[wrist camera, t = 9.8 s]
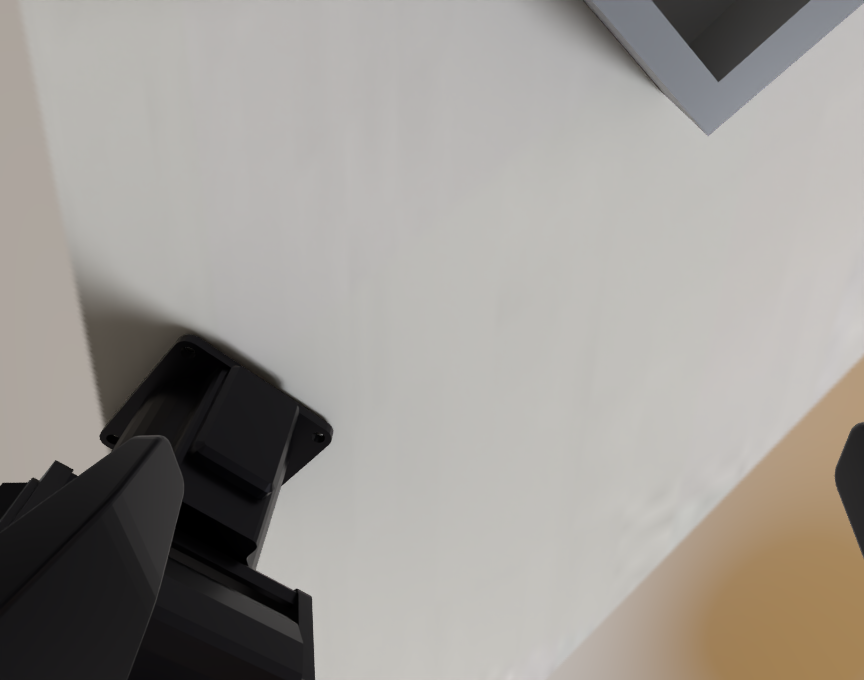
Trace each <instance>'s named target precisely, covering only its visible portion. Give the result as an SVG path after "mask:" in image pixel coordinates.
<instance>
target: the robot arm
mask: <svg viewBox="0 0 864 680" xmlns="http://www.w3.org/2000/svg"><path fill="white" fill-rule="evenodd" d="M185 347H189V348H192V349H193V350H194V351H195V352H190V351H188V350H187V349H186V348H185ZM315 433H321V434H323V435H317V434H315ZM114 435H115V436H114ZM116 436H117V437H116ZM332 436H333V428H332V426H331V425H330V424H329V423H327V422H326V421H324V420H323V419H321V418H320V417H318V416H317V415H315V414H314V413H312V412H311V411H309V410H308V409H306V408H305V407H303V406H302V405H300V404H299V403H297V402H296V401H294V400H293V399H291V398H290V397H288V396H287V395H285V394H284V393H282V392H281V391H279V390H278V389H276V388H275V387H273V386H272V385H270V384H269V383H267V382H266V381H264V380H263V379H261V378H260V377H258V376H257V375H255V374H254V373H252V372H250V371H249V370H247V369H246V368H244V367H243V366H241V365H240V364H238V363H237V362H235V361H234V360H232V359H231V358H229V357H228V356H226V355H225V354H223V353H222V352H220V351H219V350H217V349H216V348H214V347H213V346H211V345H210V344H208V343H207V342H205V341H204V340H202V339H201V338H199V337H197V336H195V335H190V334H188V335H183V336H182V337H180V338H179V339H178V340H177V342H176V343H175V344H174V345H173V346H172V347H171V349H170V350H169V351H168V352H167V353H166V355H165V356H164V357H163V358H162V359H161V361H160V362H159V363H158V364H157V365H156V366H155V368H154V369H153V370H152V371H151V372H150V374H149V375H148V376H147V377H146V378H145V379H144V381H143V382H142V383H141V384H140V385H139V387H138V388H137V389H136V390H135V391H134V393H133V394H132V395H131V396H130V397H129V398H128V400H127V401H126V402H125V403H124V404H123V406H122V407H121V408H120V409H119V410H118V411H117V413H116V414H115V415H114V416H113V417H112V419H111V420H110V421H109V422H108V423H107V425H106V426H105V427H104V429H103V430H102V432H101V434H100V440H101V441H102V443H103V444H104V445H106V446H107V447H109V448H111V449H112V451H111V453H110V454H108V455H107V456H105V457H104V458H103V459H101V460H100V461H99V462H97V463H96V464H94V465H93V466H92V467H90V468H89V469H87V470H86V471H85V472H83V473H82V474H81V475H79V476H77V475H75V474H73V473H72V472H73V469H71V468H69V467H68V466H66V465H64V464H62V463H60V462H58V461H56V460H55V462H54V463H53V464H52V465H51V467H50V468H49V469H48V470H47V472H46V473H45V474H44V475H43V477H42V478H41V479H40V480H37V479H35V478H32V479H31V480H29V482H28V483H2V485H1V486H0V680H315V667H314V641H313V615H312V597H311V596H310V595H308V594H306V593H304V592H303V591H301V590H299V589H295V590H292V589H290V588H288V587H286V586H285V585H283V584H281V583H279V582H277V581H275V580H273V579H271V578H269V577H268V576H266V575H264V574H262V573H260V572H258V571H256V567H257V564H258V560H259V557H260V554H261V550H262V547H263V544H264V541H265V537H266V534H267V531H268V528H269V524H270V521H271V518H272V515H273V511H274V508H275V505H276V501H277V498H278V495H279V492H280V488H281V486H282V485H283V484H284V483H286V482H287V481H288V480H289V479H290V478H291V477H292V476H294V475H295V474H296V473H297V472H298V471H299V470H300V469H302V468H303V467H304V466H305V465H306V464H307V463H309V462H310V461H311V460H312V459H313V458H314V457H315V456H317V455H318V454H319V453H320V452H321V451H322V450H323V449H325V448H326V447H327V446H328V445H329V444H330V442H331V440H332ZM835 482H836V487H837V490H838V492H839V495H840V498H841V500H842V503H843V505H844V508H845V511H846V513H847V516H848V518H849V521H850V524H851V526H852V528H853V532H854V534H855V537H856V539H857V542H858V544H859V547H860V550H861V552H862V555H863V557H864V422H862V423H858V424H856V425H855V426H854V427H853V428H852V429H851V431H850V434H849V436H848V439H847V441H846V444H845V446H844V449H843V451H842V453H841V456H840V458H839V461H838V463H837V466H836V469H835Z"/></svg>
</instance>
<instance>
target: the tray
mask: <svg viewBox="0 0 864 680" xmlns="http://www.w3.org/2000/svg"><path fill="white" fill-rule="evenodd" d="M584 2H585V3H586V4H587V5H588V6H589V7H590V9H591V10H592V11H593V12H594V13H595V14H596V16H597V17H598V18H599V19H600V20H601V21H602V22H603V24H604V25H605V26H606V27H607V28H608V29H609V31H610V32H611V33H612V34H613V35H614V36H615V38H616V39H617V40H618V41H619V42H620V43H621V45H622V46H623V47H624V48H625V49H626V50H627V51H628V53H629V54H630V55H631V56H632V57H633V58H634V60H635V61H636V62H637V63H638V64H639V65H640V67H641V68H642V69H643V70H644V71H645V72H646V74H647V75H648V76H649V77H650V78H651V79H652V80H653V82H654V83H655V84H656V85H657V86H658V87H659V89H660V90H661V91H662V92H663V93H664V94H665V96H666V97H668V98H669V99H670V100H671V101H672V102H673V103H674V104H675V105H676V106H677V107H678V108H679V109H680V110H681V111H682V112H683V113H684V114H685V115H686V116H688V117H689V118H690V119H691V120H692V121H693V122H694V123H695V124H696V125H697V126H698V127H699V128H700V129H701V130H702V131H703V132H704V133H705V134H706V135H708V136H709V135H710V134H711V133H712V132H713V131H715V130H716V129H717V128H718V127H719V126H720V125H722V124H723V123H724V122H725V121H726V120H727V119H729V118H730V117H731V116H732V115H733V114H735V113H736V112H737V111H738V110H739V109H740V108H742V107H743V106H744V105H745V104H746V103H747V102H749V101H750V100H751V99H752V98H753V97H754V96H756V95H757V94H758V93H759V92H760V91H761V90H763V89H764V88H765V87H766V86H767V85H768V84H770V83H771V82H772V81H773V80H774V79H775V78H777V77H778V76H779V75H780V74H781V73H782V72H784V71H785V70H786V69H787V68H788V67H789V66H791V65H792V64H793V63H794V62H795V61H796V60H798V59H799V58H800V57H801V56H802V55H803V54H805V53H806V52H807V51H808V50H809V49H811V48H812V47H813V46H814V45H815V44H816V43H818V42H819V41H820V40H821V39H822V38H823V37H825V36H826V35H827V34H828V33H829V32H830V31H832V30H833V29H834V28H835V27H836V26H837V25H839V24H840V23H841V22H842V21H843V20H844V19H846V18H847V17H848V16H849V15H850V14H851V13H853V12H854V11H855V10H856V9H857V8H858V7H860V6H861V5H862V4H863V3H864V0H584Z"/></svg>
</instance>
